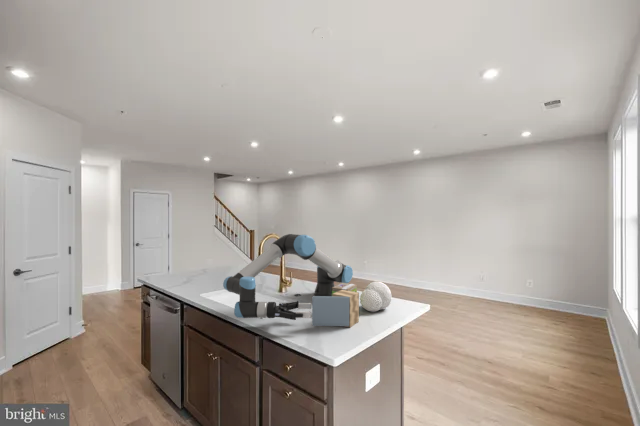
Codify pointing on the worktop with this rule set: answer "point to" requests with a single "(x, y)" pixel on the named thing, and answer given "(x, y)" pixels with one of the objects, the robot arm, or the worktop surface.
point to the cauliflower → (376, 297)
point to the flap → (330, 311)
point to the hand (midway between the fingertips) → (310, 310)
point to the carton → (350, 305)
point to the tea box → (344, 287)
